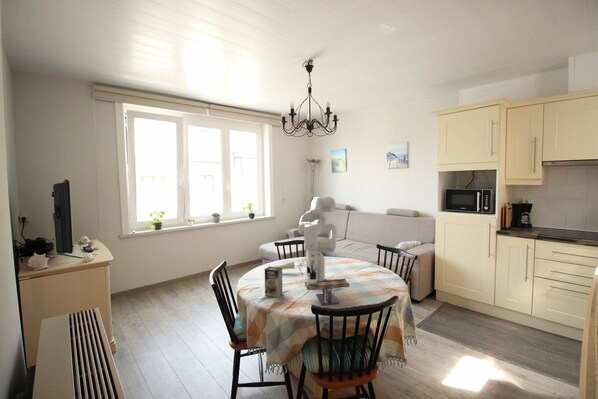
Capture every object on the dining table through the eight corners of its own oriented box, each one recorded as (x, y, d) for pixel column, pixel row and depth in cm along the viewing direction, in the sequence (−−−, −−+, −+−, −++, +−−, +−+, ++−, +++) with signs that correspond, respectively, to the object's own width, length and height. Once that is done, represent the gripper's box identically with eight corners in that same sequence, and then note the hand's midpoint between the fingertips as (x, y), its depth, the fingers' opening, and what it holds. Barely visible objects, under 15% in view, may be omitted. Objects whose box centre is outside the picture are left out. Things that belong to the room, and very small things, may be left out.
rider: (307, 286, 159) (307, 275, 159) (306, 283, 163) (306, 273, 163) (316, 285, 160) (316, 275, 160) (314, 282, 164) (314, 272, 164)
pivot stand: (321, 305, 156) (320, 287, 156) (316, 295, 169) (315, 279, 168) (338, 303, 158) (338, 286, 157) (332, 294, 171) (332, 278, 170)
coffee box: (264, 295, 170) (264, 269, 169) (269, 291, 176) (268, 265, 175) (278, 297, 167) (277, 270, 166) (282, 293, 173) (282, 267, 172)
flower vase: (272, 281, 215) (318, 271, 212) (268, 282, 203) (316, 272, 200) (269, 265, 217) (314, 255, 215) (265, 265, 206) (313, 255, 203)
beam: (307, 290, 157) (307, 286, 157) (305, 285, 165) (305, 281, 165) (349, 287, 161) (349, 283, 161) (345, 282, 168) (345, 278, 168)
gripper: (321, 249, 152) (321, 281, 153) (314, 242, 169) (314, 271, 170) (307, 250, 151) (307, 282, 152) (301, 243, 168) (302, 271, 169)
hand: (311, 276), depth 161 cm, fingers open, 9 cm apart
